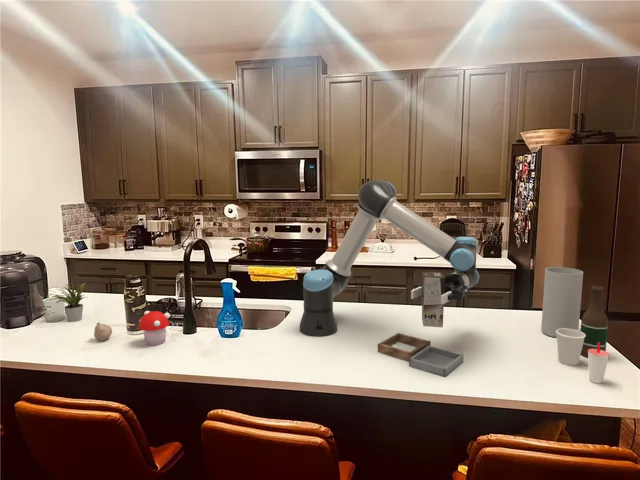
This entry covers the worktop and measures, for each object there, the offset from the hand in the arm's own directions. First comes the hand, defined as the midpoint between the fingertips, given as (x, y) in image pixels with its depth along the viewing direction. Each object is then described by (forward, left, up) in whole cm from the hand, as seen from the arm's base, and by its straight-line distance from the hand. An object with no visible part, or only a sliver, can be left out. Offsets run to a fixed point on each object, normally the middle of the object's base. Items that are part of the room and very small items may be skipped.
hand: (426, 297), depth 135 cm
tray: (+3, +3, -23) cm, 23 cm away
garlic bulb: (-104, -57, -23) cm, 121 cm away
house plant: (-139, -54, -23) cm, 151 cm away
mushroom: (-86, -46, -23) cm, 100 cm away
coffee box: (0, +5, -10) cm, 11 cm away
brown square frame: (-11, +6, -23) cm, 26 cm away
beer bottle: (+40, +43, -23) cm, 63 cm away
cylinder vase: (+27, +59, -23) cm, 69 cm away
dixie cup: (+35, +32, -23) cm, 53 cm away
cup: (+44, +22, -23) cm, 54 cm away
